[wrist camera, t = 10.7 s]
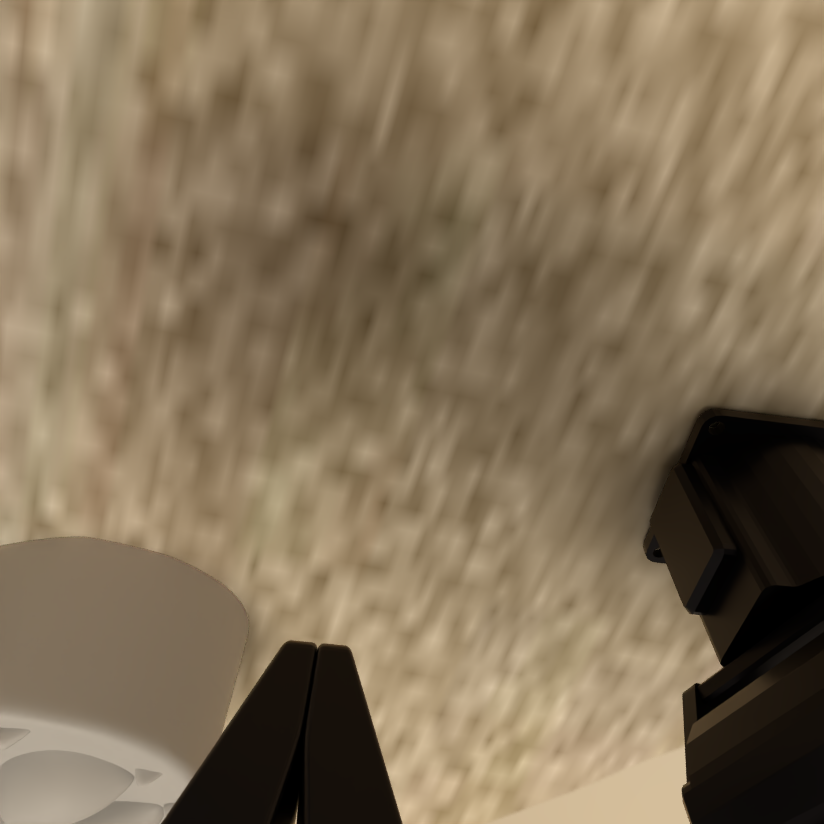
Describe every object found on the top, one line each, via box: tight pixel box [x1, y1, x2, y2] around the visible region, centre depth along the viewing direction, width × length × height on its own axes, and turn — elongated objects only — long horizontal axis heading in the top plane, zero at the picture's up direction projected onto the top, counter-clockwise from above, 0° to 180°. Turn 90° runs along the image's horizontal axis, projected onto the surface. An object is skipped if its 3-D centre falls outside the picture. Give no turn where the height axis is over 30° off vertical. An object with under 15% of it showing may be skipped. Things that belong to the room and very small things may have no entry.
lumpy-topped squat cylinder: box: [0, 537, 249, 824], centre depth 25 cm, size 10×13×9 cm
